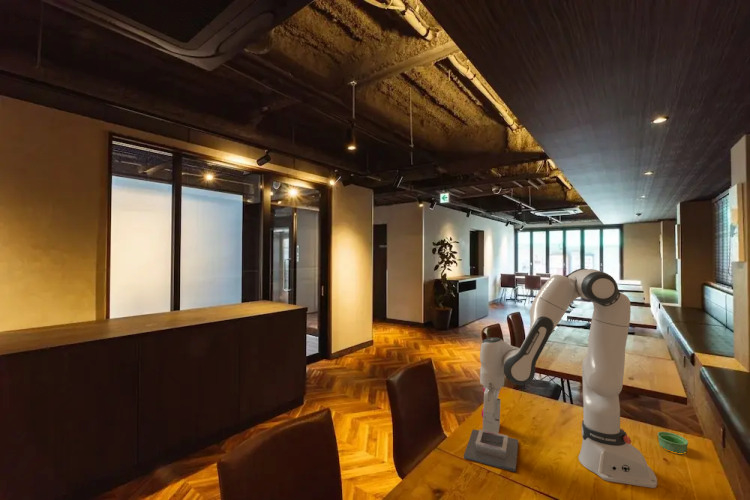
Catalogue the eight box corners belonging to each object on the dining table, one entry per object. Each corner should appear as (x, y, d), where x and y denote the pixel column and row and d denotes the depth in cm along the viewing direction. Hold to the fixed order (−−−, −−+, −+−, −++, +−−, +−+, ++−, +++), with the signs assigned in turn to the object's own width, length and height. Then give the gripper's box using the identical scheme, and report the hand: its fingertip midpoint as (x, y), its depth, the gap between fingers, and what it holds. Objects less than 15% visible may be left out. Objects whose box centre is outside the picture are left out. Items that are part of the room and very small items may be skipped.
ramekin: (695, 455, 125) (694, 444, 125) (671, 456, 125) (671, 444, 125) (673, 442, 134) (673, 431, 134) (651, 442, 134) (651, 431, 134)
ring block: (518, 442, 134) (518, 432, 134) (515, 472, 116) (515, 460, 116) (472, 431, 142) (472, 422, 142) (463, 458, 124) (463, 447, 124)
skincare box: (482, 430, 129) (482, 400, 128) (483, 424, 133) (484, 395, 132) (499, 434, 126) (499, 403, 125) (500, 428, 130) (500, 398, 129)
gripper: (497, 391, 118) (497, 429, 118) (502, 372, 136) (502, 405, 137) (479, 388, 121) (479, 425, 121) (486, 369, 139) (486, 402, 139)
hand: (491, 414), depth 129 cm, fingers closed on skincare box, 4 cm apart
